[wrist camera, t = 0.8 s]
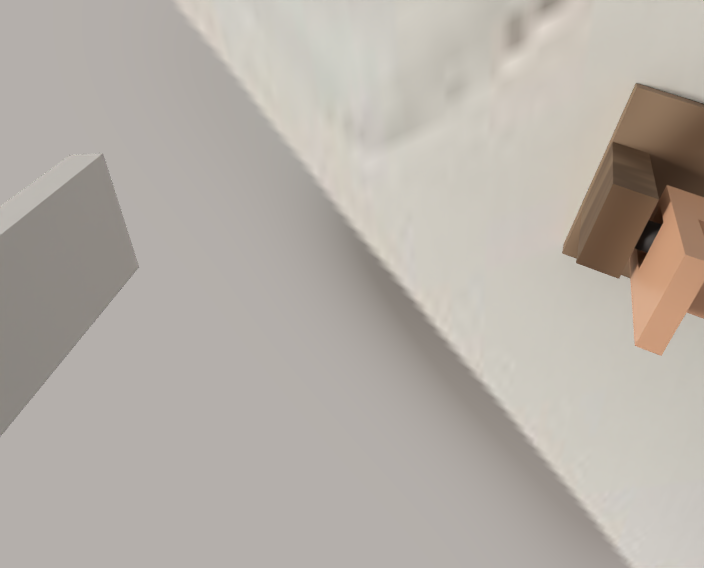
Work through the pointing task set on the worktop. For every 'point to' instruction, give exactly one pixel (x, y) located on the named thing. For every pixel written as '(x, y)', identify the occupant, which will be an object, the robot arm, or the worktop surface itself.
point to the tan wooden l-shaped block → (669, 270)
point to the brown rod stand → (638, 179)
